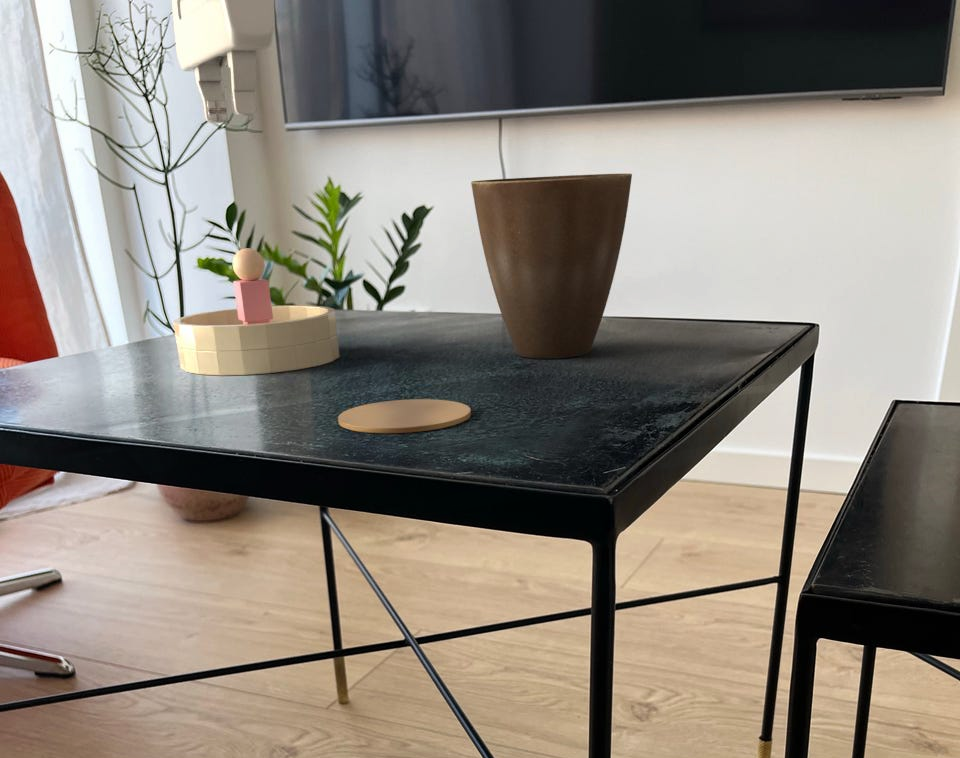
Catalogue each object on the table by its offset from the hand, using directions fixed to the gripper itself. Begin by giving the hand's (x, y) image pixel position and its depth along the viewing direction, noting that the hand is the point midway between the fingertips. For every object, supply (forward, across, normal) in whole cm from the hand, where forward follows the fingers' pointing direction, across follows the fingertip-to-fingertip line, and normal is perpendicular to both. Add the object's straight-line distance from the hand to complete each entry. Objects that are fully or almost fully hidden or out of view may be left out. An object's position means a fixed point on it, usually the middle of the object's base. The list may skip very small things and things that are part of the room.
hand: (230, 118), depth 92 cm
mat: (+22, +31, +2) cm, 38 cm away
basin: (+22, 0, 0) cm, 22 cm away
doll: (+22, 0, 0) cm, 22 cm away
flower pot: (+22, +13, +26) cm, 37 cm away
